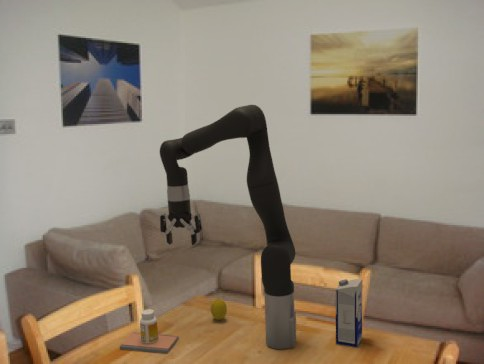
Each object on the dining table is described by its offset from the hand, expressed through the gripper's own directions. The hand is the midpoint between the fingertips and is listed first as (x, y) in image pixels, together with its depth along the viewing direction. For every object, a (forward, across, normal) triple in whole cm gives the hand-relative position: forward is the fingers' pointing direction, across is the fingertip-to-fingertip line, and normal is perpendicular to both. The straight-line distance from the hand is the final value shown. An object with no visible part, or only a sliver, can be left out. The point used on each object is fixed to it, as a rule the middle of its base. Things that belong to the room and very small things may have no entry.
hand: (182, 244), depth 190 cm
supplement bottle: (+26, -5, -20) cm, 34 cm away
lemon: (+28, +11, +1) cm, 30 cm away
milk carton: (+29, +56, -6) cm, 64 cm away
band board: (+27, -5, -20) cm, 34 cm away
